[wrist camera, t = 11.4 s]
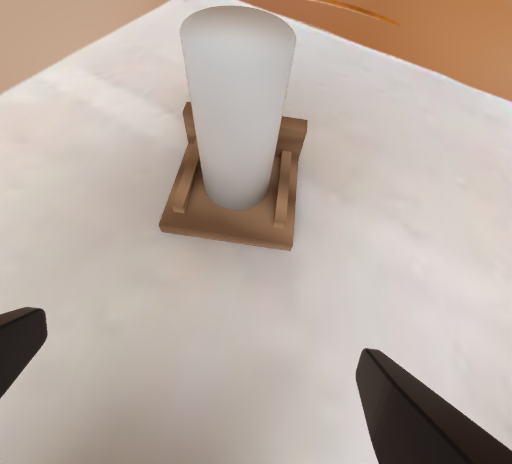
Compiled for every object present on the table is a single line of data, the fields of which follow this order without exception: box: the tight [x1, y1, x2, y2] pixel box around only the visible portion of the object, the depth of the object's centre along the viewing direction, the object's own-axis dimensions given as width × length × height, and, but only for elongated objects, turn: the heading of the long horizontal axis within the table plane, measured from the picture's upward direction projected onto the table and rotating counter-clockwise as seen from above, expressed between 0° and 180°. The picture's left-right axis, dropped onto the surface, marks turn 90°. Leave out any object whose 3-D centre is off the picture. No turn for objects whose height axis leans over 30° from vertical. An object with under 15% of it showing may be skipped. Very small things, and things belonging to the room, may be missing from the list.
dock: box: [159, 102, 307, 251], centre depth 24 cm, size 12×12×5 cm
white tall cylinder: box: [180, 6, 296, 210], centre depth 20 cm, size 6×6×13 cm
